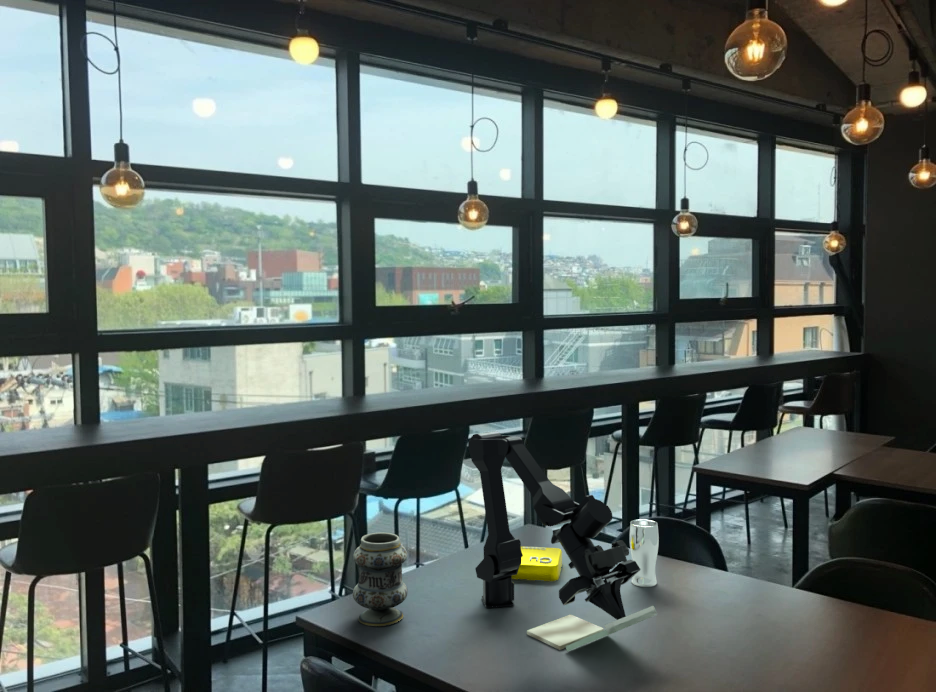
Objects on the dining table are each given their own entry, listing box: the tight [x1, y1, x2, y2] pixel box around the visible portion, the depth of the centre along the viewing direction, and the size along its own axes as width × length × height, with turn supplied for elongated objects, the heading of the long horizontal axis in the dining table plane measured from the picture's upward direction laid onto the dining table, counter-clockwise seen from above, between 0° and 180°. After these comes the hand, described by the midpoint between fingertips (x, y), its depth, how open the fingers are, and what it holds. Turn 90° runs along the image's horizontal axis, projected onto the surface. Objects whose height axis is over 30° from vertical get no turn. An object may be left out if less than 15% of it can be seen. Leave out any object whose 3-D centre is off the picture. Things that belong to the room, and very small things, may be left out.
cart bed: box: [526, 614, 605, 651], centre depth 156 cm, size 10×13×1 cm
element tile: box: [511, 545, 563, 582], centre depth 194 cm, size 15×15×5 cm
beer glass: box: [629, 518, 660, 588], centre depth 184 cm, size 7×7×15 cm
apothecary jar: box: [352, 532, 409, 627], centre depth 164 cm, size 12×12×18 cm
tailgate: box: [565, 605, 659, 652], centre depth 146 cm, size 2×12×15 cm
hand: (623, 621), depth 143 cm, fingers closed
